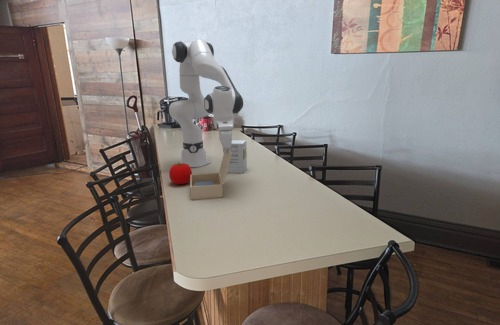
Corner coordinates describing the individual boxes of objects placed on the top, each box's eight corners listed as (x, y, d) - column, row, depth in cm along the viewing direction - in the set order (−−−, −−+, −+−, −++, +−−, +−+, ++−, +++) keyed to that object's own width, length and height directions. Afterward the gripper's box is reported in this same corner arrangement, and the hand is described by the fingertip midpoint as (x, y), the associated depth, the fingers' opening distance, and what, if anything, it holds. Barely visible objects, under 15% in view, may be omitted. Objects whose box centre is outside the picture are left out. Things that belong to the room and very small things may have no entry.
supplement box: (243, 173, 177) (242, 143, 172) (227, 172, 178) (226, 143, 174) (247, 168, 186) (246, 140, 181) (231, 167, 187) (230, 139, 183)
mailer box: (191, 186, 159) (190, 174, 157) (219, 183, 161) (218, 172, 159) (191, 199, 142) (190, 187, 140) (222, 197, 144) (222, 184, 142)
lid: (226, 144, 156) (227, 144, 156) (219, 171, 159) (220, 171, 159) (230, 153, 139) (232, 153, 139) (222, 183, 142) (224, 183, 142)
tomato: (170, 188, 157) (168, 167, 154) (169, 180, 168) (167, 161, 165) (193, 185, 159) (192, 165, 156) (191, 178, 171) (189, 159, 168)
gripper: (215, 120, 153) (216, 148, 157) (218, 127, 134) (220, 159, 138) (228, 119, 154) (229, 147, 158) (233, 126, 135) (234, 158, 139)
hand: (225, 153), depth 148 cm, fingers closed, pressing on lid
